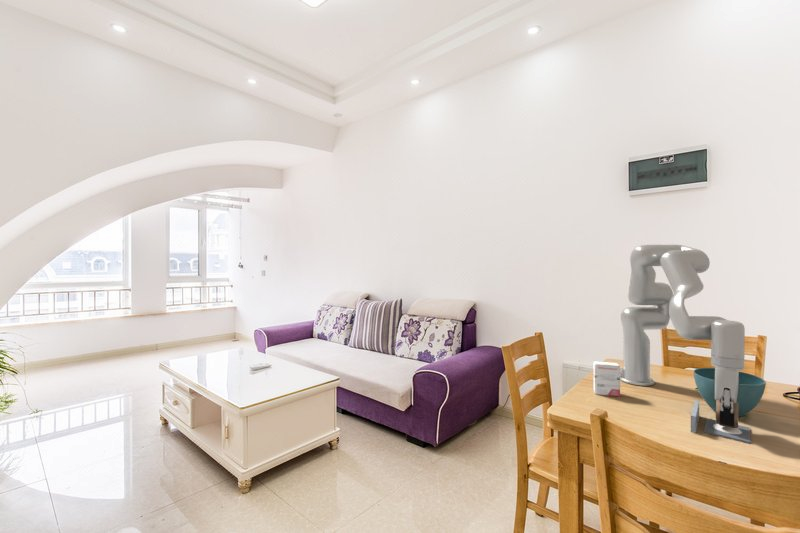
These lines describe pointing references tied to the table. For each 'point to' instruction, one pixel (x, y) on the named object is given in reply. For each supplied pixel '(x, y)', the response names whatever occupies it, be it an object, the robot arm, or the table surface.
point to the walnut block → (735, 411)
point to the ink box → (606, 378)
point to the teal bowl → (747, 389)
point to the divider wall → (695, 416)
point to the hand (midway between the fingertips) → (726, 421)
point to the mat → (728, 431)
